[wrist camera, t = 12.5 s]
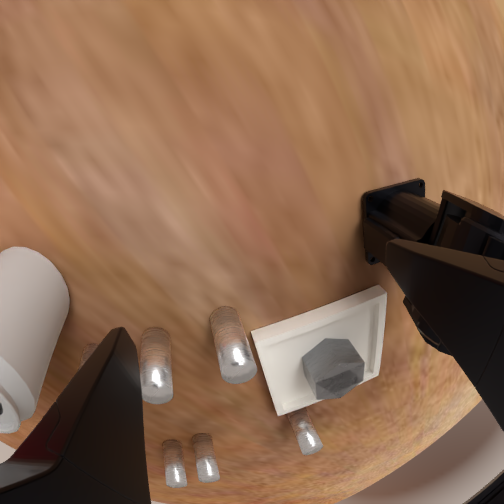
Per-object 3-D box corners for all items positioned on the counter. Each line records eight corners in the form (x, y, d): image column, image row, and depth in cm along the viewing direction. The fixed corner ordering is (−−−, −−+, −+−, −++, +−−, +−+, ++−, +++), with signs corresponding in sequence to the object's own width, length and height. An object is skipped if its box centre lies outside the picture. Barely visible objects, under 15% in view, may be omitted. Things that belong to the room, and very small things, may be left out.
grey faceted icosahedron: (348, 328, 28) (365, 352, 25) (347, 365, 30) (362, 388, 27) (300, 347, 27) (314, 373, 24) (305, 382, 30) (317, 407, 27)
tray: (378, 284, 27) (387, 292, 26) (372, 366, 33) (378, 375, 31) (250, 331, 26) (254, 342, 24) (274, 406, 31) (278, 416, 30)
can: (74, 330, 22) (43, 454, 11) (1, 312, 19) (-51, 417, 9) (73, 250, 19) (8, 376, 8) (-8, 233, 16) (-97, 330, 6)
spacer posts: (283, 287, 24) (311, 335, 19) (306, 411, 34) (323, 449, 28) (78, 346, 22) (65, 399, 17) (167, 449, 32) (171, 488, 26)
